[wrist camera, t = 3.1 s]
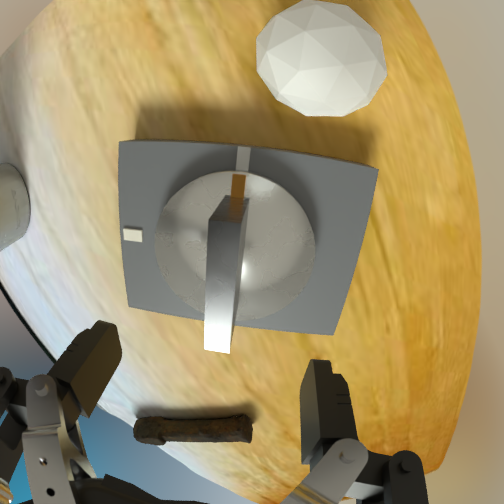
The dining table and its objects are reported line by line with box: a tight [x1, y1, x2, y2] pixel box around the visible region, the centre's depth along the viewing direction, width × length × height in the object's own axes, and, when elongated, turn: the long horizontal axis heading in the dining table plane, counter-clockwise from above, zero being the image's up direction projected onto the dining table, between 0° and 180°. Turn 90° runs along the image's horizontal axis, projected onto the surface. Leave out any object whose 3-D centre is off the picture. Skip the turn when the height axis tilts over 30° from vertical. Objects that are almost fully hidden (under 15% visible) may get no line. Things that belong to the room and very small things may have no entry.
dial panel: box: [118, 139, 379, 335], centre depth 21 cm, size 18×14×3 cm
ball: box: [256, 0, 387, 116], centre depth 13 cm, size 8×8×8 cm
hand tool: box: [133, 415, 253, 445], centre depth 33 cm, size 19×4×5 cm, turn 104°
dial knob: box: [155, 170, 315, 353], centre depth 17 cm, size 11×11×6 cm
